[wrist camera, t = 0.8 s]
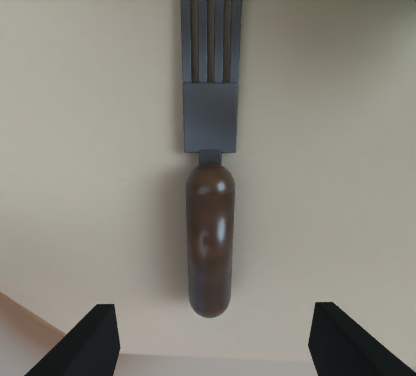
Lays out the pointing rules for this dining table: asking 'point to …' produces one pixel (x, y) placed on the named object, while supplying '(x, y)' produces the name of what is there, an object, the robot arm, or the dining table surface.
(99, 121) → the dining table surface
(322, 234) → the dining table surface
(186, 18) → the fork
